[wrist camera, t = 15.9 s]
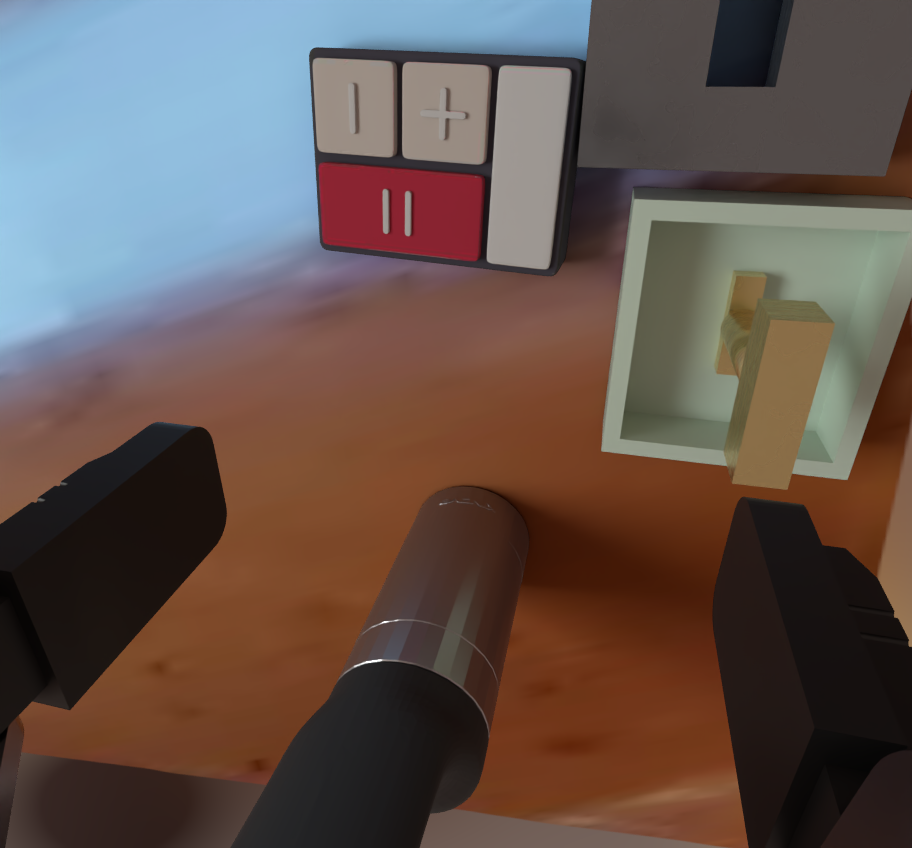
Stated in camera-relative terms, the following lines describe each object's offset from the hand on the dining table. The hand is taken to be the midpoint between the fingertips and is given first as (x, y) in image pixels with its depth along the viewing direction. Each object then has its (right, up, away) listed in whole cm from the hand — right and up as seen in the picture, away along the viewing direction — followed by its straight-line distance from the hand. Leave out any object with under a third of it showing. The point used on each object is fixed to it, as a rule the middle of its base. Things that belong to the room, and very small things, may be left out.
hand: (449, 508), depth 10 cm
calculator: (0, +17, +29) cm, 34 cm away
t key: (+17, +7, +28) cm, 34 cm away
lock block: (+14, +22, +22) cm, 34 cm away
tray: (+17, +8, +29) cm, 34 cm away
